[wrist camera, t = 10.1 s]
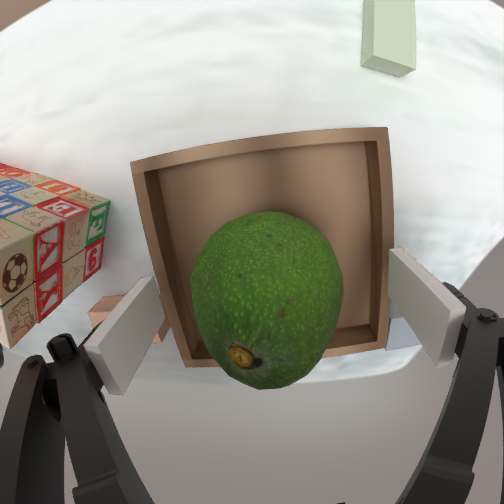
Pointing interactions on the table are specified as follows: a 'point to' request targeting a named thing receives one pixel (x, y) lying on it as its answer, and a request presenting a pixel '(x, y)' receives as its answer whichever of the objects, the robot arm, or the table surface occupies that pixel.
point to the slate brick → (399, 331)
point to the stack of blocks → (44, 246)
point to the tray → (279, 200)
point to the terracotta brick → (110, 303)
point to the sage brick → (389, 36)
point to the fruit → (267, 298)
